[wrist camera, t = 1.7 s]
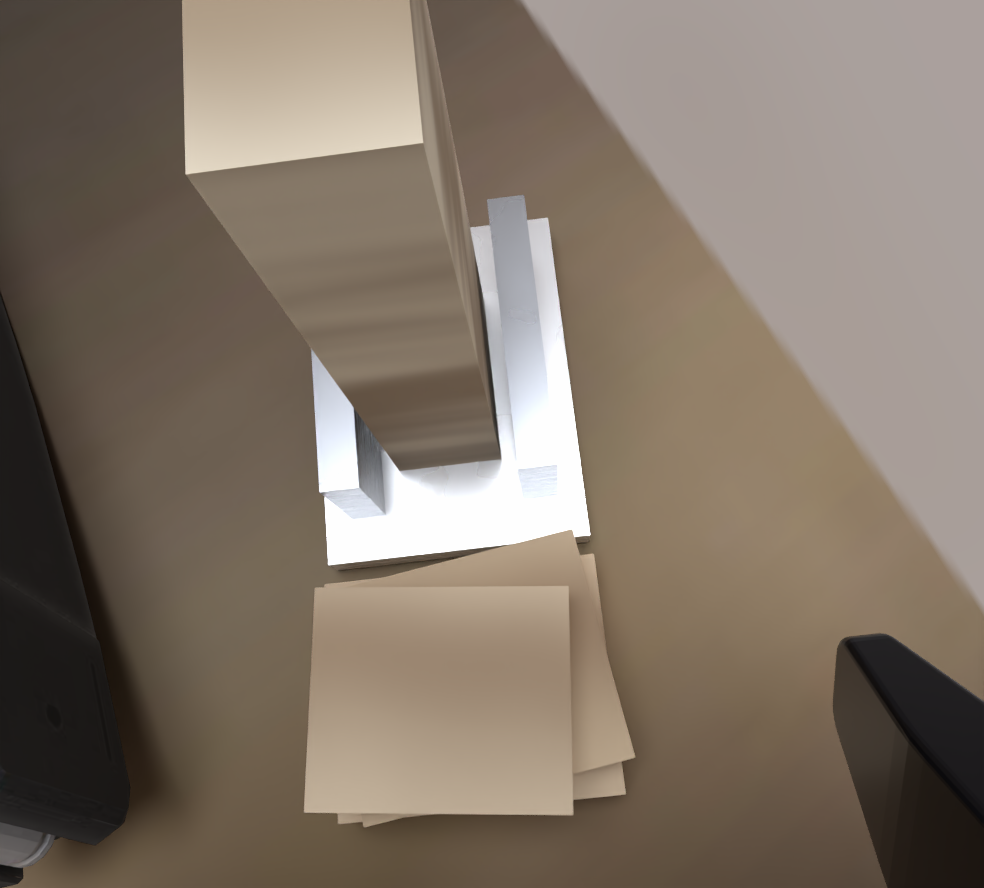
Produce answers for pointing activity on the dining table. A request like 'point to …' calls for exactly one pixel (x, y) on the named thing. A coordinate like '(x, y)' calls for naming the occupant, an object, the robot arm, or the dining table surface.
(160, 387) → the dining table surface
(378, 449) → the rack
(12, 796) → the black curved panel
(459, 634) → the offcut stack
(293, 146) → the beige rectangular block
